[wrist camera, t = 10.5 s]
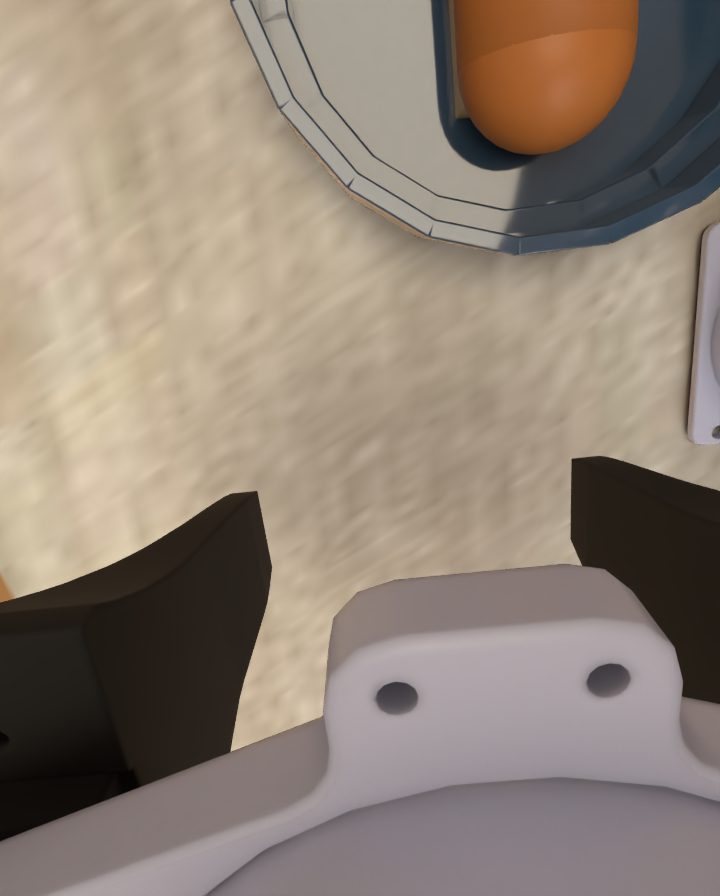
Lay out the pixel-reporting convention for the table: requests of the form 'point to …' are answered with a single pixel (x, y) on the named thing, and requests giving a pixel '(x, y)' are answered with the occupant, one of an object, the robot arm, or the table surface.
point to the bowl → (465, 148)
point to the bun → (540, 67)
